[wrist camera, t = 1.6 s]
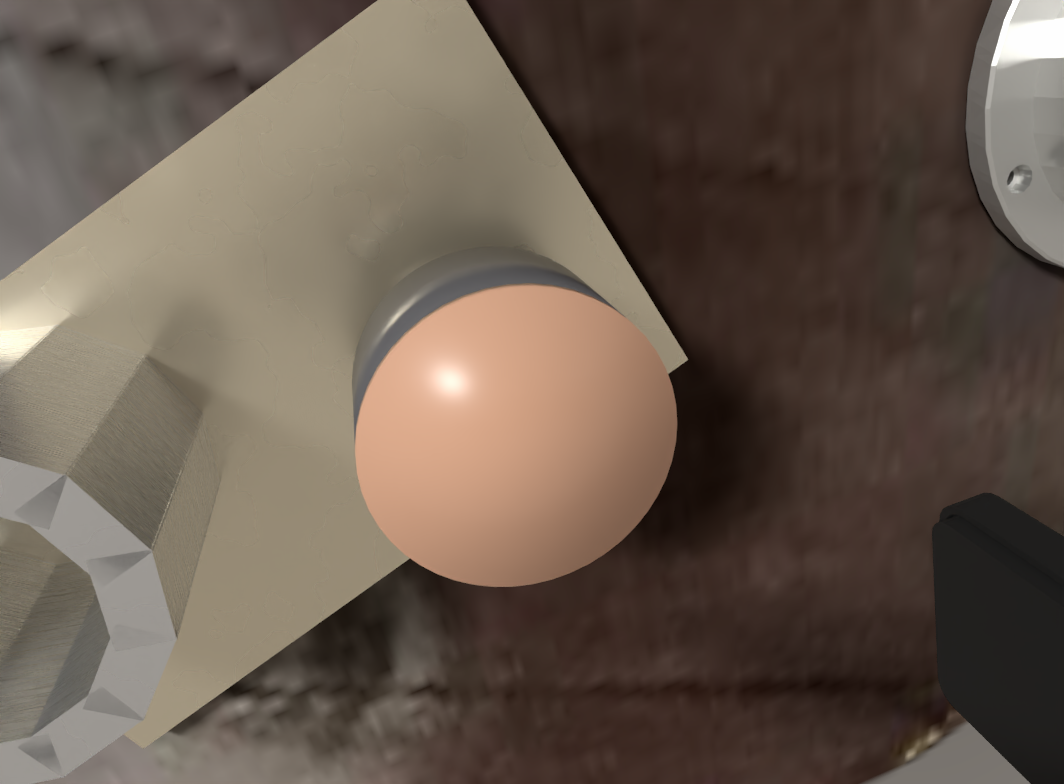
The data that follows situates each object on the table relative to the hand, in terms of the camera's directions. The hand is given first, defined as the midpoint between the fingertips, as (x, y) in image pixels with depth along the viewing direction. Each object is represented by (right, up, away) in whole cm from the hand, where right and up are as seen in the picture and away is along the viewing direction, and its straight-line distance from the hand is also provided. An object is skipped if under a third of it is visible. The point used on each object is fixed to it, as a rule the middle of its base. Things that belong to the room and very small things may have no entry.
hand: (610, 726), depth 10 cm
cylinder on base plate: (-8, +4, +14) cm, 17 cm away
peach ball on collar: (-3, +6, +13) cm, 15 cm away
